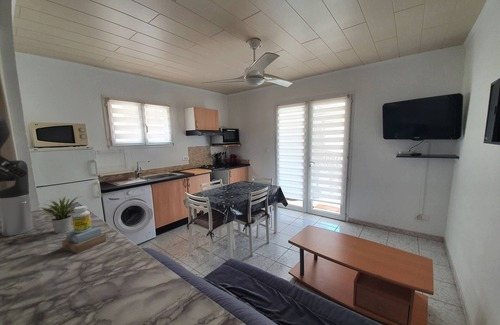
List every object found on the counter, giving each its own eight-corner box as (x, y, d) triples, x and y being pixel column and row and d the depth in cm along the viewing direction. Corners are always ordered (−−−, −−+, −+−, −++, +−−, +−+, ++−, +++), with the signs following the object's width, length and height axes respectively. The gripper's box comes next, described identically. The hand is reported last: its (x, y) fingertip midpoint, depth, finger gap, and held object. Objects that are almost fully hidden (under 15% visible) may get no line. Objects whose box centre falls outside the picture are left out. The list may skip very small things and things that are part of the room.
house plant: (76, 221, 103) (73, 191, 102) (91, 226, 97) (88, 193, 96) (38, 232, 91) (34, 197, 89) (52, 238, 85) (48, 201, 83)
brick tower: (62, 247, 77) (61, 233, 77) (91, 236, 86) (90, 223, 86) (77, 253, 73) (76, 237, 73) (106, 240, 83) (104, 227, 82)
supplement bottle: (92, 226, 83) (90, 204, 82) (90, 231, 78) (88, 207, 77) (75, 229, 80) (73, 206, 79) (72, 234, 75) (70, 210, 74)
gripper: (-22, 131, 55) (38, 167, 67) (-41, 132, 61) (18, 165, 72) (-53, 151, 51) (17, 185, 63) (-70, 150, 56) (-2, 182, 68)
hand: (18, 174), depth 67 cm, fingers open, 8 cm apart
